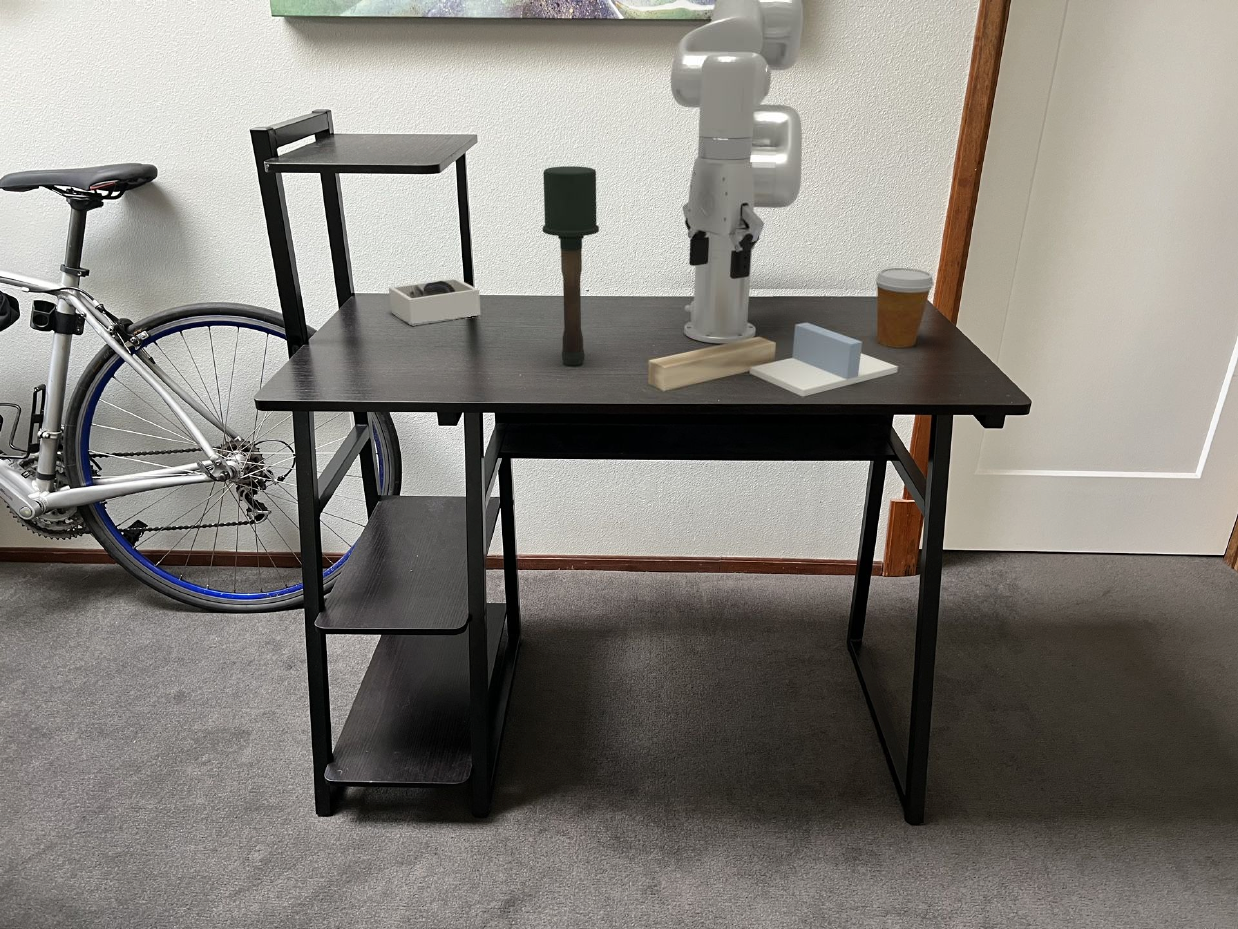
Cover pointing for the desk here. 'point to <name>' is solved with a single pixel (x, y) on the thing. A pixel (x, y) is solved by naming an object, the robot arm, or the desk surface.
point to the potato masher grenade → (570, 241)
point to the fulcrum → (822, 363)
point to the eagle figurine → (433, 289)
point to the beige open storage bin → (435, 302)
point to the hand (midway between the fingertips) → (718, 270)
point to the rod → (710, 363)
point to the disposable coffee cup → (901, 304)
